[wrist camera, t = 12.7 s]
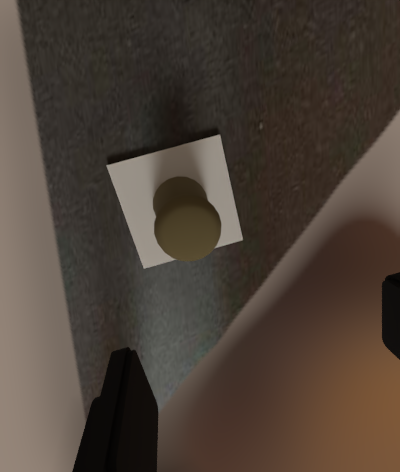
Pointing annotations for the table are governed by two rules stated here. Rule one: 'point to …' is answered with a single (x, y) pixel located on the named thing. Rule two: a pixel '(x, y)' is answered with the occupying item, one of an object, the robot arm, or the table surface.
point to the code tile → (161, 169)
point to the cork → (185, 219)
